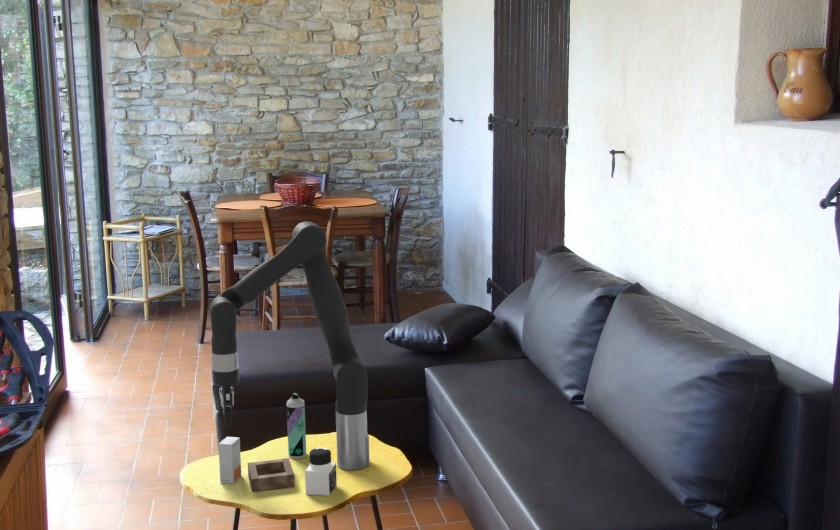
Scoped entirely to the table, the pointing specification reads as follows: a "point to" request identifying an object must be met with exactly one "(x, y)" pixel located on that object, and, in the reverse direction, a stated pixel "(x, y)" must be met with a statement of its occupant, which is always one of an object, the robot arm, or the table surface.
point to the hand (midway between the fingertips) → (227, 421)
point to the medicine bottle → (320, 473)
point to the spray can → (296, 427)
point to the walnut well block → (271, 475)
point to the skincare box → (229, 460)
